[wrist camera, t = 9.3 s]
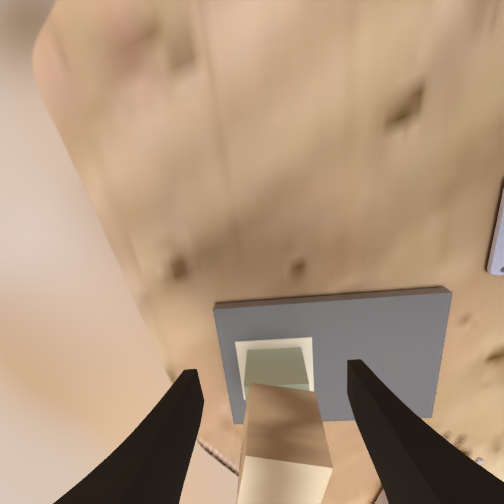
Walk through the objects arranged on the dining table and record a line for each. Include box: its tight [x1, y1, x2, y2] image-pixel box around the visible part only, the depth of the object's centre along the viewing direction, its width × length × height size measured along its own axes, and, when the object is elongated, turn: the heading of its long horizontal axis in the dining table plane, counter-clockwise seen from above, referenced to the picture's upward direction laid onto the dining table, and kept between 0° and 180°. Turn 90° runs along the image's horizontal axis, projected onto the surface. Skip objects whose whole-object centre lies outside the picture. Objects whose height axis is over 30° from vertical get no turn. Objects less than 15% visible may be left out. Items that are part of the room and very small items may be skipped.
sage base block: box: [244, 347, 310, 405], centre depth 21 cm, size 5×5×4 cm
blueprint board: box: [213, 287, 452, 424], centre depth 23 cm, size 20×14×1 cm
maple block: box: [236, 383, 333, 504], centre depth 17 cm, size 5×5×5 cm
